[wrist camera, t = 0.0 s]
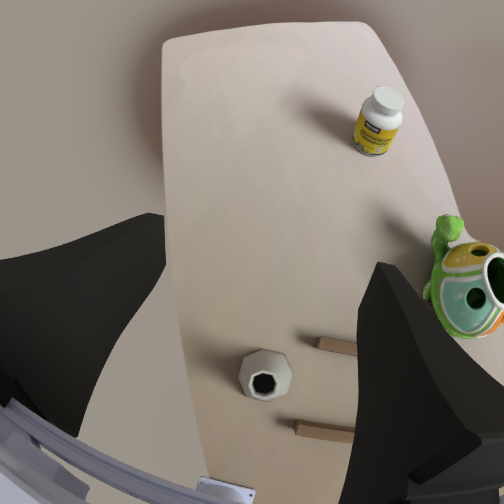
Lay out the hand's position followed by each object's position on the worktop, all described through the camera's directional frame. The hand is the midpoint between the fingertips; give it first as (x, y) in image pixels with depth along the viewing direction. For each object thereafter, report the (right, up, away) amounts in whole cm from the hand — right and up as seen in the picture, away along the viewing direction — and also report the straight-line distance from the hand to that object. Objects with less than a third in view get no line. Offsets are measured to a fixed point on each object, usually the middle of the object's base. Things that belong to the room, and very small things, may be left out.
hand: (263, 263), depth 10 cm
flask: (+1, -16, +29) cm, 33 cm away
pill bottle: (+19, +19, +38) cm, 47 cm away
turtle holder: (+30, -5, +30) cm, 43 cm away
